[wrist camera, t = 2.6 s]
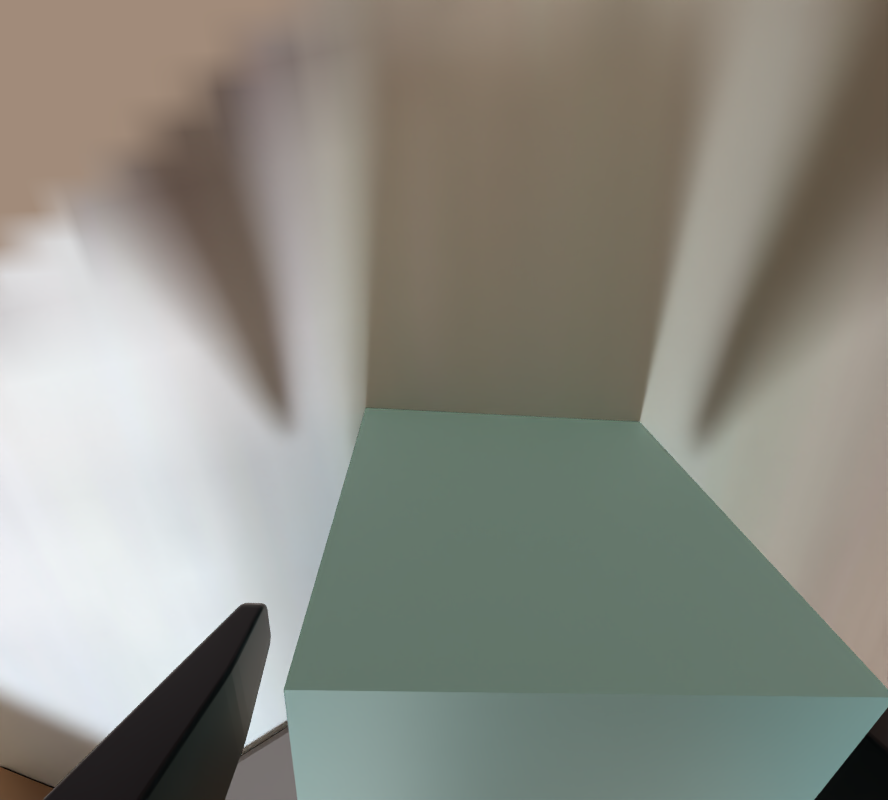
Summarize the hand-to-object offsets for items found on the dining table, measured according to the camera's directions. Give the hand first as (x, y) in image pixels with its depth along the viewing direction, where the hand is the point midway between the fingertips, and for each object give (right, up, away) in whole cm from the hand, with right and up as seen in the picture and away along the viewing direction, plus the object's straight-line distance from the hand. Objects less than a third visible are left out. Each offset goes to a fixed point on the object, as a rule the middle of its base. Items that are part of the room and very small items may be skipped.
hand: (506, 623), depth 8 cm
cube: (0, +1, +2) cm, 3 cm away
